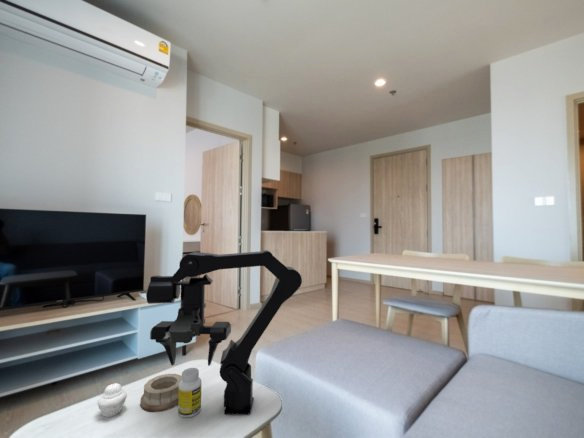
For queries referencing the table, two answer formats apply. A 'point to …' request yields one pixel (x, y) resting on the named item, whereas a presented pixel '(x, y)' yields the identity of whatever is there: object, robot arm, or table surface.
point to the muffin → (112, 400)
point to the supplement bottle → (189, 393)
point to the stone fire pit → (161, 393)
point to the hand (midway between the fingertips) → (191, 364)
